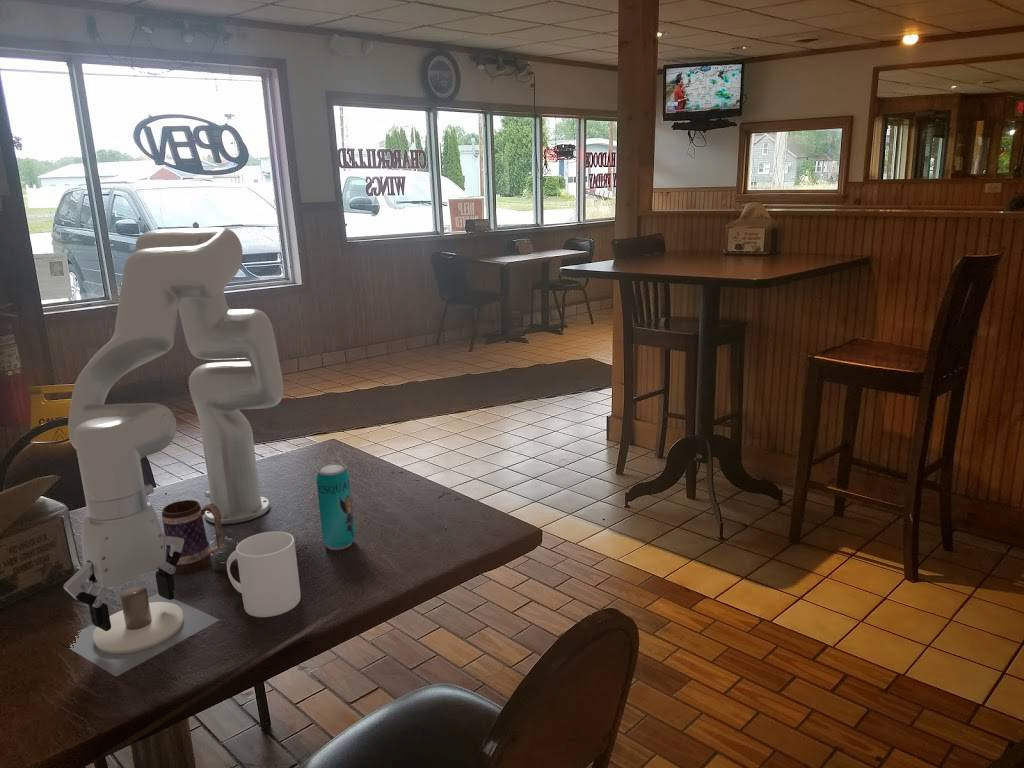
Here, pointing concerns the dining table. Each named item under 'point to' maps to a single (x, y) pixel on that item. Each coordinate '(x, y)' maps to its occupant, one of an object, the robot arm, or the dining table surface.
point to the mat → (125, 662)
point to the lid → (138, 624)
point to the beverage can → (335, 506)
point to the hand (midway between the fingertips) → (136, 612)
